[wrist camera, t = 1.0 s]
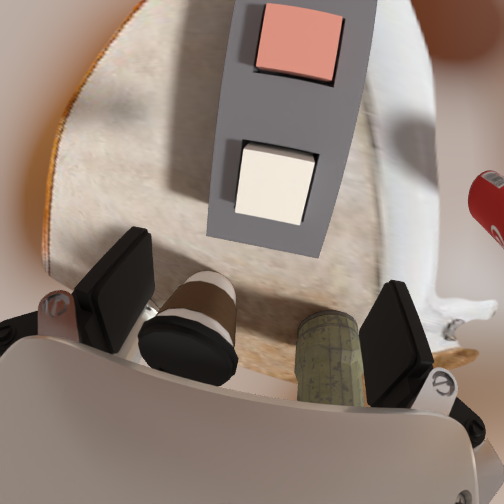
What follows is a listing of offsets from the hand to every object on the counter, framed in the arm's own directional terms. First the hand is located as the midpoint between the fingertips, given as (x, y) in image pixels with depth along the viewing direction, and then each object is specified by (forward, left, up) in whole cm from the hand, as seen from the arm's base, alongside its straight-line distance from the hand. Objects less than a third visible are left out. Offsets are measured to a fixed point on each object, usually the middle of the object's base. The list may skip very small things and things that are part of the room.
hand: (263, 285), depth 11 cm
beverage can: (+20, -13, -19) cm, 30 cm away
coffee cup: (-16, -9, -19) cm, 26 cm away
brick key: (+7, +8, -14) cm, 18 cm away
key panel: (+3, +4, -18) cm, 19 cm away
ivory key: (0, 0, -14) cm, 14 cm away
